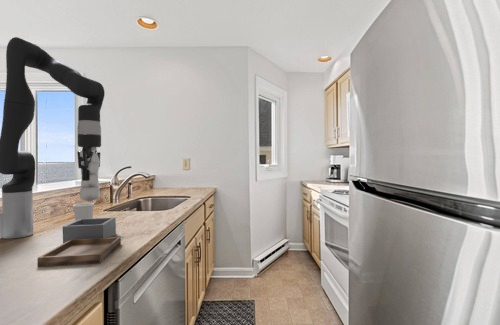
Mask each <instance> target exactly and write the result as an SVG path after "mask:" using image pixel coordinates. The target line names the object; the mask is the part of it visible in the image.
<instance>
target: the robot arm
mask: <svg viewBox="0 0 500 325" xmlns="http://www.w3.org/2000/svg"><path fill="white" fill-rule="evenodd" d="M5 53H6V54H5V56H6V57H5V60H6V62H5V64H6V79H5V80H6V82H5V84H6V85H5V92H4V93H5V94H4V95H5V96H4V100H3V108H2V109H3V110H2V124H1V131H0V174H1V175H6V176H7V175H9V176H10V175H12V178H11V179H10V181H8V182H6V183H5V184H3V185H2V186H1V200H2V201H1V203H2V206H1V207H2V208H1V209H2V211H1V212H0V239H5V240H7V239H18V238H19V239H21V238H25V237H28V236H29V237H30V236H32V235H33V234H34V203H33V202H34V200H33V197H34V196H33V187H34V184H35V180H36V179H35V178H36V161H35V160H36V159H35V157H34V155H33V154H32V153H31V152H30V151H27V150H19V145H20V141H21V138H22V136H23V134H24V133H25V132H26V130H27V129H28V128H29V126H30V125H31V124H32V122H33V120H34V117H35V110H36V108H35V107H36V100H35V97H34V94H33V92H32V90H31V89H30V86H29V84H28V82H27V78H26V67H27V68H30V69H31V68H32V69H36V70H40V71H42V72H45V73H46V74H48V75H49V76H50V77H51V78H52V79H53V80H54V81H55V82H57V83H59V84H61V85H63V86H64V87H66V88H67V89H68V90H69V91H70V92H71V93H73V94H74V95H76V96H79V97H80V98H84V99H87V101H86V104H85V103H83V104H80V105H79V106H78V109H77V113H78V114H77V118H78V119H77V128H76V129H77V146H78V147H79V148H81V149H82V150H77V166H78V169H80V171H81V170H82V175H81V176H82V178H81V179H82V180H83V181H89V180H90V170H89V169H90V164H92V157H93V156H94V155H95V153H96V155H97V156H98V157H99V160H100V161H101V152H100V151H98V150H97V148H101V147H102V127H101V109H102V106H103V102H104V99H105V88H104V86H103V84H102V83H100V82H99V81H97V80H93V79H91V78H88V77H86V76H83V75H82V74H81V73H80V72H79V71H77V70H76V69H74V68H72V67H70V66H68V65H66V64H64V63H62V62H60V61H58V60H57V59H56V58H54V57H53V56H52V55H50V54H49V53H48V52H47V51H46V50H45V49H44V48H42V47H41V46H40V45H37V44H36V43H33V42H31V41H29V40H26V39H24V38H21V37H19V36H18V37H17V36H16V37H12V38H10V39H9V41H8V43H7V45H6V52H5ZM92 147H96V149H95V150H96V151H95V153H94V152H92V151H91V148H92ZM87 158H90V160H89V161H87ZM81 163H82V165H81ZM100 167H101V162H100V163H99V168H100Z"/></svg>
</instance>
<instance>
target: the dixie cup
mask: <svg viewBox="0 0 500 325" xmlns="http://www.w3.org/2000/svg"><path fill="white" fill-rule="evenodd" d="M72 207H73V212H74V219H75V221H76V220H79V219H90V218H93V215H94V207H95V203H94V202H81V203H80V202H79V203H74V204H72Z"/></svg>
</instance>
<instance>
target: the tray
mask: <svg viewBox="0 0 500 325" xmlns="http://www.w3.org/2000/svg"><path fill="white" fill-rule="evenodd" d="M121 238H122V237H119V236H118V237H116V236H115V237H111V238H95V239H75V240H69V241H67V242H65V243H63V242H62V244H60V245H58V246H56V247H55V248H53V249H50V250H49V251H47V252H45V253H43V254H42V255H40V256H38V257H37V267H38V268H40V267H41V268H45V267H46V268H47V267H60V266H63V267H64V266H79V265H80V266H81V265H94V264H95V265H96V264H101V263H102V262H104V261H105V260H106V259H107V258H108V257H109V256H110V255H111V254H112V253H113V252H114V251H116V250H117V249H118V248H119V247H120V246H121V245H122V239H121Z"/></svg>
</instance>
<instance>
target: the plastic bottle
mask: <svg viewBox="0 0 500 325" xmlns="http://www.w3.org/2000/svg"><path fill="white" fill-rule="evenodd" d="M95 149H96V150H97V148H96V147H92V148H91V151H92V152H94V153H95V151H96V150H95ZM89 160H90V158H87V161H89ZM99 163H100V164H101V159H100V160H99V157H98V156H97V155H96V153H95V155H94V156H93V157H92V164H90V169H89V170H90V180H89V181H83V180H82V170H81V169H80V175H81V177H80V178H81V180H80V190H79V198H80V200H81V201H88V202H92V201H96V200H99V198H100V197H101V189H100V184H99V183H100V182H99V169H100V167H99ZM81 165H82V163H81Z"/></svg>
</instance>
